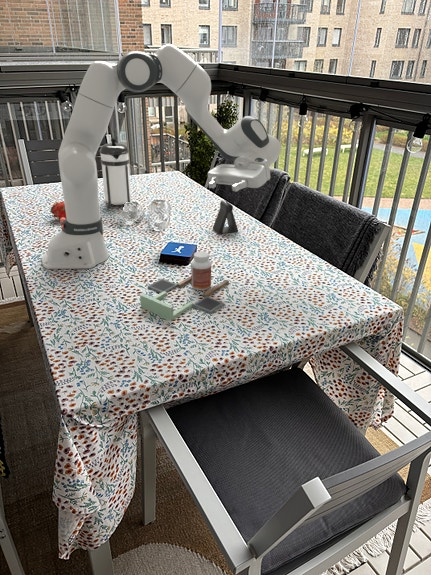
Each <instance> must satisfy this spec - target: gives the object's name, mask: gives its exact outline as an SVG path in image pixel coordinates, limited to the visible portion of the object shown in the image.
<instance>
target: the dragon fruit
mask: <svg viewBox="0 0 431 575" xmlns="http://www.w3.org/2000/svg"><path fill="white" fill-rule="evenodd" d="M49 212H50V214H52V215H51V216H52V218H54V219H57V218H58V220H59V221H60V219H61V218H62V217H64V218H65V219H67V218H66V210H65V203H64V200H63V201H59V202H58V201H56V202H55V203H54V204H52V206H51V207H50V210H49Z"/></svg>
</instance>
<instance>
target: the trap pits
mask: <svg viewBox="0 0 431 575" xmlns="http://www.w3.org/2000/svg"><path fill="white" fill-rule="evenodd" d="M177 284H178V283H175V282H172V281H170V280H167V279H164V278H160V279H158V280H157V281H155V282H152V283H151V284H149V285H148V286H147V289H150V290H152V291H155V292H156V293H158V294H160V293H162V292H163V291H165V292H167V293H169V292H170V291H172V290H174V289H175V288H178V287H177ZM224 305H225V302H223V301H220V300H217V299H215V298H212V297H211V296H206V297H202V298H201V299H199V300H197V301H196V302H194V303H193V308H196V309H197V310H201V311H202V312H205V313H208V314H210V315H211V314H213V313H214V312H216V311H217V310H219V309H221V307H223V306H224Z"/></svg>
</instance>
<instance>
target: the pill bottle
mask: <svg viewBox="0 0 431 575" xmlns="http://www.w3.org/2000/svg"><path fill="white" fill-rule="evenodd" d="M190 264H191V266H190V267H191V270H190V271H191V273H190V274H191V282H190V283H191V287H192V289H193V290H197V291H208V290H210V289H211V288H212V287H211V286H212V261H211V260H210V252H207V251H196V252H194V253H193V260H192V261H191V263H190Z"/></svg>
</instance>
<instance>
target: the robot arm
mask: <svg viewBox="0 0 431 575" xmlns="http://www.w3.org/2000/svg"><path fill="white" fill-rule="evenodd" d="M211 81H212V80H211V77H210V75H209V74H208V73H207V71H206V70H205V69H204V68H203V67H202V66H201V65H200V64H199V63H197V61H196V60H194V59H193V58H192V57H191V56H189V54H187V53H185V52H184V50H182V49H180V48H178V47H177V46H175V45H174V44H171V43H167V44H163V45H161V46H160V47H159V48H158V49H157V50H156V51H155V53H148V52H146V51H145V52H144V51H139V50H131V51H128V52H126V53H125V54H124V55H122V57H121V58H120V59H119V60H118V61H117V62H115V63H113V64H112V63H110V62H107V61H103V60H95V61H93V62H92V63H90V65H89V67H88V69H87V70H86V72H85V74H84V76H83V79H82V81H81V83H80V86H79V89H78V92H77V95H76V99H75V102H74V105H73V109H72V112H71V114H70V115H71V116H70V119H69V121H68V124H67V126H66V129H65V132H64V134H63V137H62V139H61V140H62V141H61V144H60V146H59V149H58V156H57V157H58V167H59V174H60V181H61V187H62V195H63V201H64V203H65V210H66V218H67V219H65V218H64V217H62V218H61V219H60V220H59V223H60V228H61V231H60V232H58V233H57V234H56V235H55V236H54V237H52V238H51V239H50V241H49V242H48V244H47V251H46V252H44V254H42V257H41V263H42V266H43V267H44V268H45V269H49V270H55V269H56V270H57V269H59V270H60V269H61V270H64V269H66V270H67V269H68V270H69V269H92V268H93V267H95V266H96V265H99V264H101V263H103V262H105V261H107V260H108V259H109V257H110V254H109V251H108V248H107V246H106V243H105V238H104V221H103V218H102V216H101V210H100V209H101V208H100V198H99V183H98V181H99V179H98V169H97V168H98V167H97V162H96V156H97V152H98V151H99V148H100V146H101V143H102V140H103V138H104V137H105V135H106V133H107V131H108V126H109V124H110V123H111V118H112V115H113V112H114V109H115V107H116V103H117V102H118V101H117V100H118V98H119V96H120V94H121V92H123V91H124V90H129V91H130V92H133V93H142V92H145V91H148V90H149V89H151V88H152V87H153V86H154V85H156V84H157V83H160V84H163V85H164V86H166V87H167V88H168V89H169V90H171V91H172V93H174V94H175V95H176V96H177V97H178V98H179V100H181V103H183V105H184V110H185V111H186V113H187V115H188V117H189V118H190V119H191V120H192V121H193V123H194V124H195V125H196V126H197V127H198V128H199V130H201V132H202V133H203V134H204V135H205V136H206V137H207V139H209V140H210V142H211V143H212V144H213V146H214V147H215V149H216V151H217V152H218V153H219V154H220V156H221V157H222V158H223V159H225V160H227V161H232V162H233V164H232V163H231V164H230V163H221V164H218V165H217V166H215V167H213V168H211V169H209V171H208V172H207V178H208V181H209V182H208V188H209V189H215V188H216V187H217V184H219V185H226V186H227V185H229V186H231V190H232V191H233V192H239V191H240V190H243V189H245V188H249V189H250V188H252V189H258V188H261V187H262V186H264V185H265V184H266V183H267V181H269V180H271V171H270V167H271V166H273V165H274V164H275V162H277V160H278V159H279V157H280V155H281V151H282V145H281V143H280V141H279V139H277V137H276V136H273V135H270V134H269V133H268V132H267V130H266V127H265V126H264V124H263V123H262V121H260V119H258V118H256V117H255V116H252V115H246V116H243V117H242V118H241V119H240V120H238V121H237V122H236V123H235V124H234V125H233V126H231V127H230V128H229V129H226V128H223V126H222V125H221V124H220V123H219V121H217V119H216V118H215V117H214V116H213V115H212V113H211V112H210V110H209V109H208V102H209V98H210V96H211V91H212V82H211Z"/></svg>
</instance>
